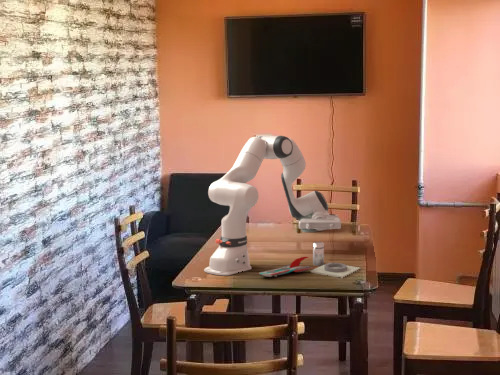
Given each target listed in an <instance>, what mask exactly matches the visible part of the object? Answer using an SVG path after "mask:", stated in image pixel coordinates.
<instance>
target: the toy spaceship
mask: <svg viewBox="0 0 500 375" xmlns="http://www.w3.org/2000/svg"><path fill="white" fill-rule="evenodd" d="M308 258H310V257H309V256H301V257H298V258H296V259H294V260H293V261H292V262H291V263H290V264H287V265H285V266H283V267H279V268H274V269H271V270H265V271H260V272H257V274H258V275H260V276H264V277H266V278H267V277H269V278H271V277H274V278H277V277H278V276H281V275H282V276H283V275H285V274H289V273H291V272H295V273H301V272H307V271H311V270H312V269H315V268H318V266H312V267H311V266H310V265H305V266H301V264H303V262H302V261H304V260H305V259H308ZM301 262H302V263H301Z"/></svg>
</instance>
